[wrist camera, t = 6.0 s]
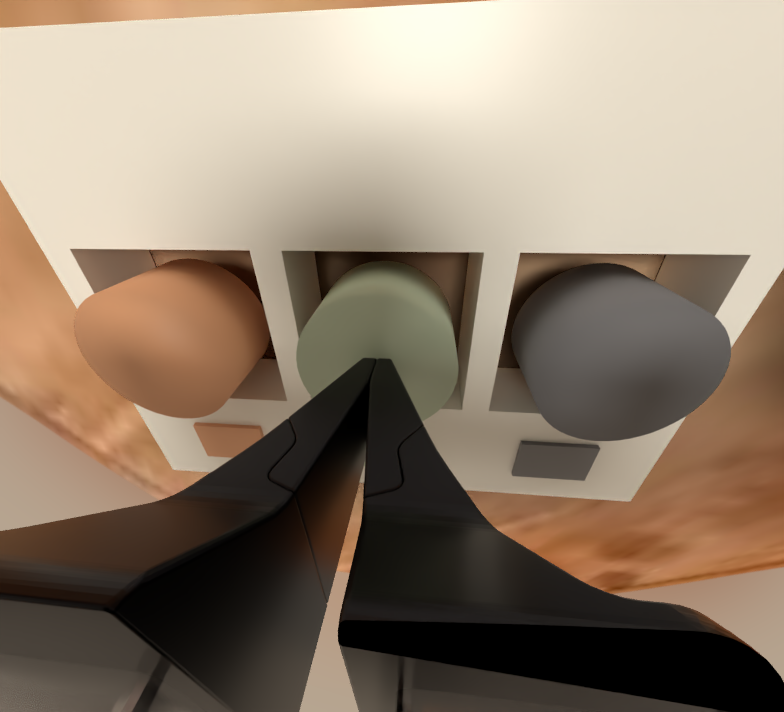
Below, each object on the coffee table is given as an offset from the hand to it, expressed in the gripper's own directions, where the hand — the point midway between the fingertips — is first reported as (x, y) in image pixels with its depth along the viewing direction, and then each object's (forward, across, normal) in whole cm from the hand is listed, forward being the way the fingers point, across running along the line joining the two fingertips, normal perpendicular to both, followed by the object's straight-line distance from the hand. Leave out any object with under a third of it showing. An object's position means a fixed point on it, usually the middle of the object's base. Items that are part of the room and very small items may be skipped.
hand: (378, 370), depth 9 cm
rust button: (+3, +7, 0) cm, 8 cm away
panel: (+5, 0, 0) cm, 5 cm away
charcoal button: (+3, -7, 0) cm, 8 cm away
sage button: (+3, 0, 0) cm, 3 cm away
